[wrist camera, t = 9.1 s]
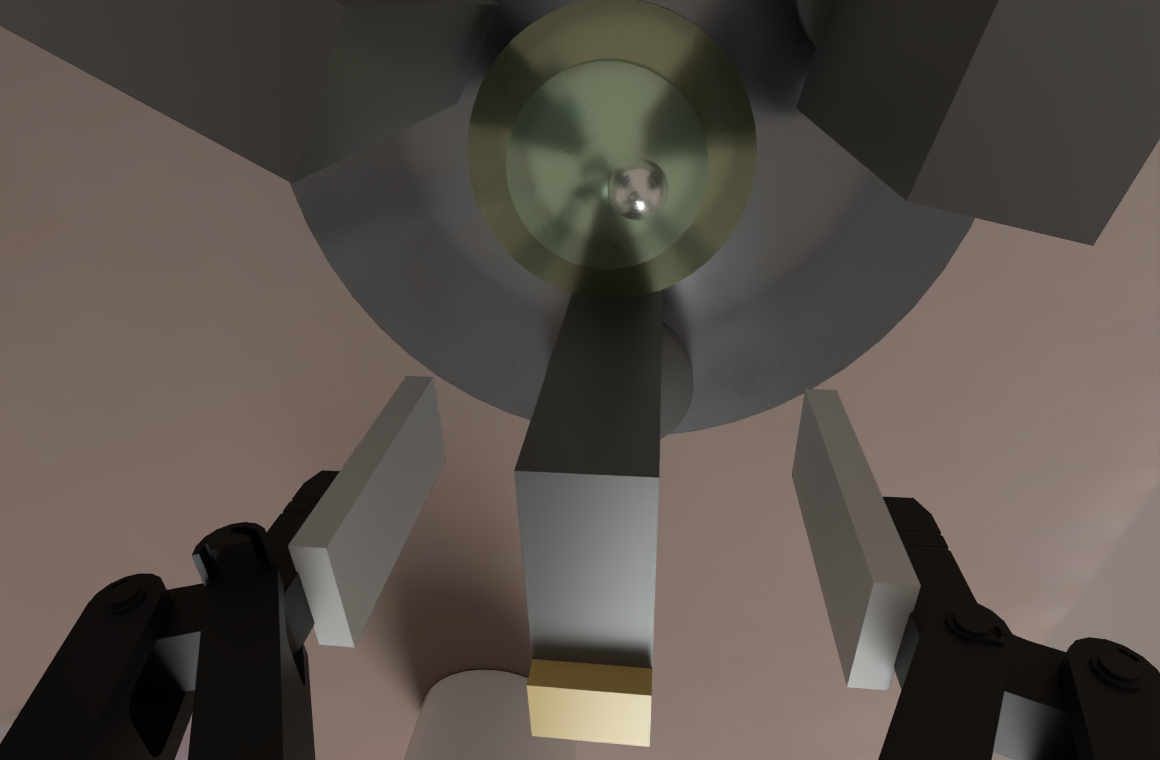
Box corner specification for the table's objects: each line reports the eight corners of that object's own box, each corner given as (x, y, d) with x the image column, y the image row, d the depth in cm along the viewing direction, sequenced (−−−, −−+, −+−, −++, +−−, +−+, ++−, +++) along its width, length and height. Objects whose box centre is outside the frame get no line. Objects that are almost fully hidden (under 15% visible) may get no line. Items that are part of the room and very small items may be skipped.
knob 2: (543, 275, 19) (446, 490, 11) (698, 277, 19) (724, 505, 10) (553, 456, 22) (484, 734, 14) (687, 462, 22) (699, 754, 13)
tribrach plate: (152, -6, 18) (-95, -9, 12) (822, -652, 12) (976, -1307, 6) (530, 486, 25) (488, 635, 19) (1082, 247, 19) (1274, 361, 13)
